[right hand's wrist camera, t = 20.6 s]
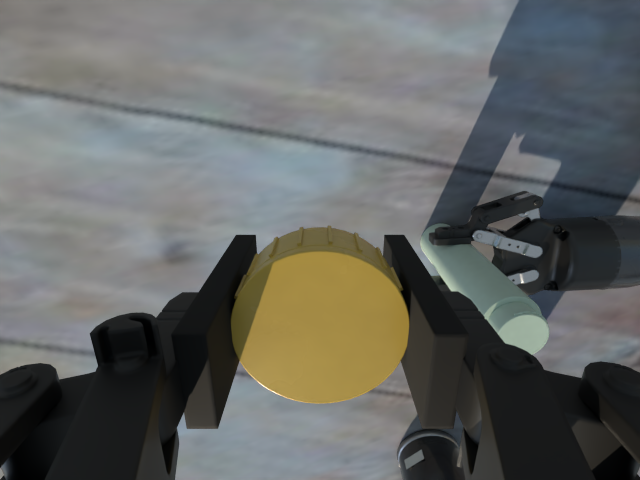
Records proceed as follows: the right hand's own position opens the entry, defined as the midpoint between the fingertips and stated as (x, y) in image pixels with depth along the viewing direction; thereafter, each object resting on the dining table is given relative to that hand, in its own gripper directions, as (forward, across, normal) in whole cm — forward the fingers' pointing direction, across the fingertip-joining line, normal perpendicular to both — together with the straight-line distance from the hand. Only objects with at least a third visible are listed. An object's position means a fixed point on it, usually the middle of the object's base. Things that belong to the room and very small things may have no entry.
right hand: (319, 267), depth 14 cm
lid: (-4, 0, 0) cm, 4 cm away
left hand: (+22, +12, -9) cm, 26 cm away
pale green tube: (+28, +14, -9) cm, 33 cm away
